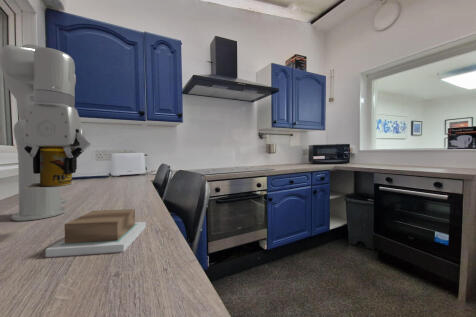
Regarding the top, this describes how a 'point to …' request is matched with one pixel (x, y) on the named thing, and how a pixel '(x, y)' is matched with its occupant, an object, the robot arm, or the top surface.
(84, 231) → the base block
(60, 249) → the build board
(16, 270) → the top surface
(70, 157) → the robot arm
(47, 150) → the condiment
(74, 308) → the top surface
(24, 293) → the top surface
